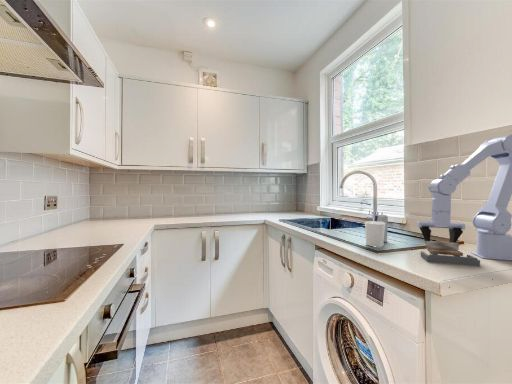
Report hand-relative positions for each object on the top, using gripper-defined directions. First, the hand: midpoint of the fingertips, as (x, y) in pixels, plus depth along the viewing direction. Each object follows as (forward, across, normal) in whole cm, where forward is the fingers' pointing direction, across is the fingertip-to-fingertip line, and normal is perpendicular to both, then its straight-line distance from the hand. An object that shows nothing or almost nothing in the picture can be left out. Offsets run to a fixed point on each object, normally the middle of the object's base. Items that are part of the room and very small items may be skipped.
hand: (439, 247), depth 92 cm
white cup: (+3, +21, -8) cm, 23 cm away
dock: (+3, 0, +4) cm, 5 cm away
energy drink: (+3, +17, -18) cm, 25 cm away
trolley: (+2, 0, +4) cm, 5 cm away
